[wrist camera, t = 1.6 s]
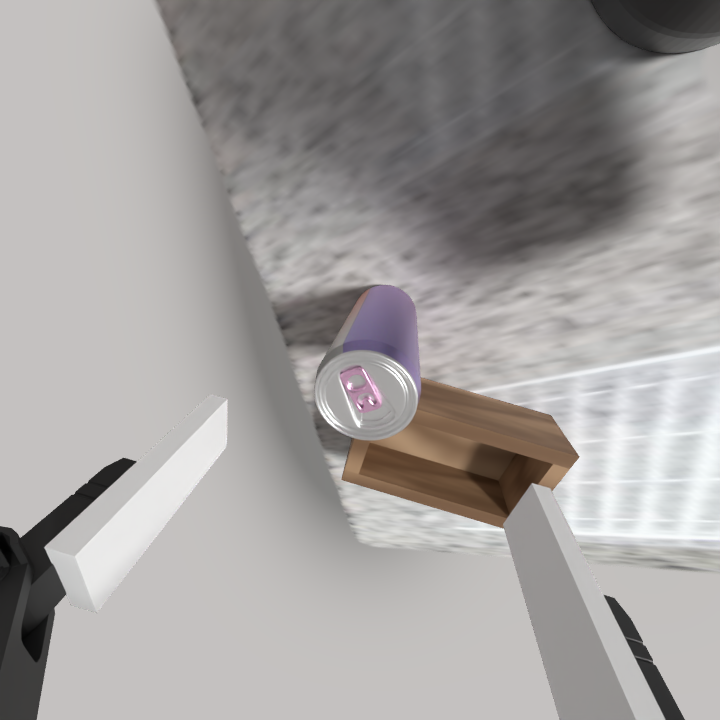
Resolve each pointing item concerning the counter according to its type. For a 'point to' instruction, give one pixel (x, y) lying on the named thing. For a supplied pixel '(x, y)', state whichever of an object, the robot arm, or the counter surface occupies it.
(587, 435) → the counter surface
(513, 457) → the tray
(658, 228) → the counter surface
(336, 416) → the beverage can
